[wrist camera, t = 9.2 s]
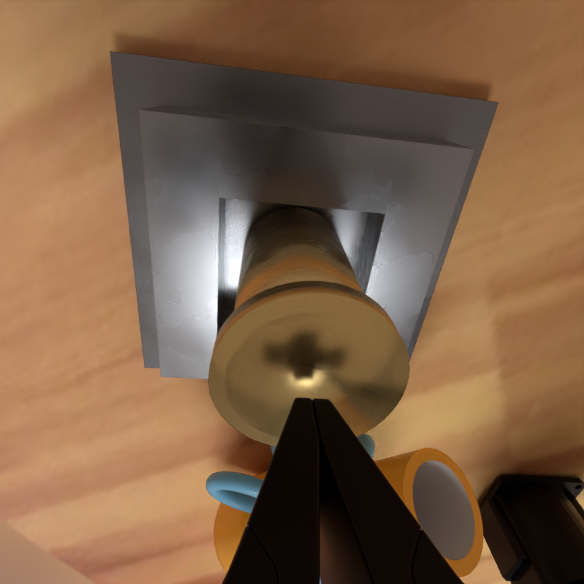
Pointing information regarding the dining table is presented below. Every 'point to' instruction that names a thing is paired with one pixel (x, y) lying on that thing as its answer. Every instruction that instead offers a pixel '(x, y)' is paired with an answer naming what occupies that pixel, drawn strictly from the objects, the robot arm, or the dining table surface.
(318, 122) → the plate
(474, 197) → the dining table surface
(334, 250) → the bushing
